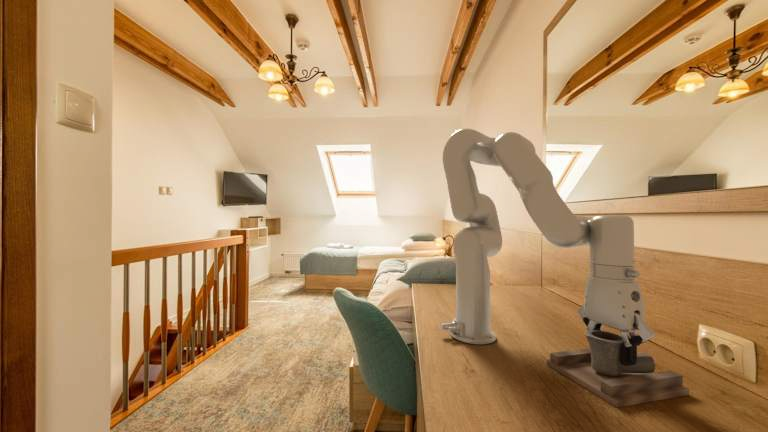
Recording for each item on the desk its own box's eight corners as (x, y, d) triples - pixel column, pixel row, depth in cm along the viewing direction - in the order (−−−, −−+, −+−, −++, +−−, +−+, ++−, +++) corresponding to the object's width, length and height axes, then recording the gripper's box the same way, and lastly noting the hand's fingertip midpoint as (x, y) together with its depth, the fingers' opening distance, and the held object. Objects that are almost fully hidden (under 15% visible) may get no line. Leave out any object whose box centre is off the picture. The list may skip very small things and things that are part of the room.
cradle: (616, 407, 52) (616, 389, 52) (546, 364, 68) (546, 350, 68) (689, 394, 56) (689, 378, 56) (607, 357, 72) (607, 344, 72)
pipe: (660, 383, 58) (663, 344, 58) (594, 378, 59) (596, 340, 59) (637, 366, 64) (639, 330, 64) (576, 362, 65) (578, 327, 65)
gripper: (672, 279, 55) (673, 375, 54) (588, 266, 72) (588, 339, 71) (642, 281, 53) (643, 380, 53) (563, 267, 70) (563, 342, 69)
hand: (612, 356), depth 62 cm, fingers open, 6 cm apart
